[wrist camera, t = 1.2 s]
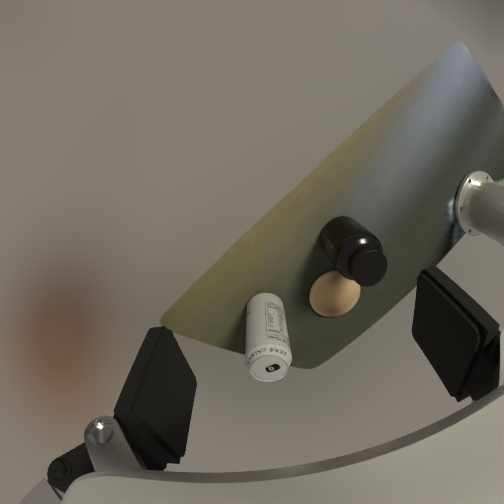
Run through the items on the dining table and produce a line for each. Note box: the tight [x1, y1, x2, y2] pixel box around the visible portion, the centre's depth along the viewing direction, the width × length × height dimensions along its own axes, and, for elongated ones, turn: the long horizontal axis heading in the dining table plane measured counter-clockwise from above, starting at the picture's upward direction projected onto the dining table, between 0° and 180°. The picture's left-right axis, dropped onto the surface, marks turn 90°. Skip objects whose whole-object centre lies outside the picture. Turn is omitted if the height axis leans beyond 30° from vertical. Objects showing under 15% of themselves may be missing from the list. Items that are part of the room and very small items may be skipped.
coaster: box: [309, 270, 360, 317], centre depth 45 cm, size 9×9×1 cm
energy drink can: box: [245, 293, 292, 382], centre depth 39 cm, size 6×6×15 cm
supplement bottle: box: [321, 216, 387, 287], centre depth 36 cm, size 7×7×12 cm
